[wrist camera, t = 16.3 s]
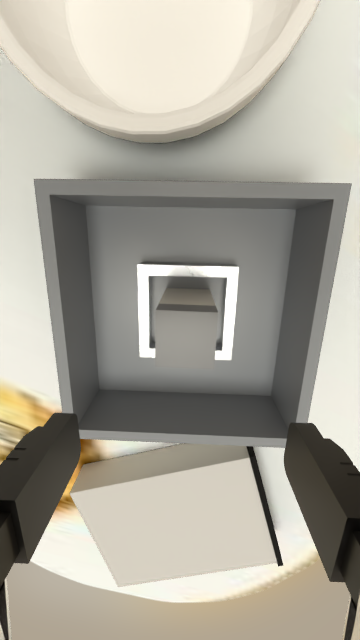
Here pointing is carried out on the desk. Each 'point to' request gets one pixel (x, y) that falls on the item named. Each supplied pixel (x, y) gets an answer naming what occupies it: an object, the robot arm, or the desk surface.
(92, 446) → the desk surface
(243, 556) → the disc drive
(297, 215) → the box
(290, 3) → the bowl
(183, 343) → the block
